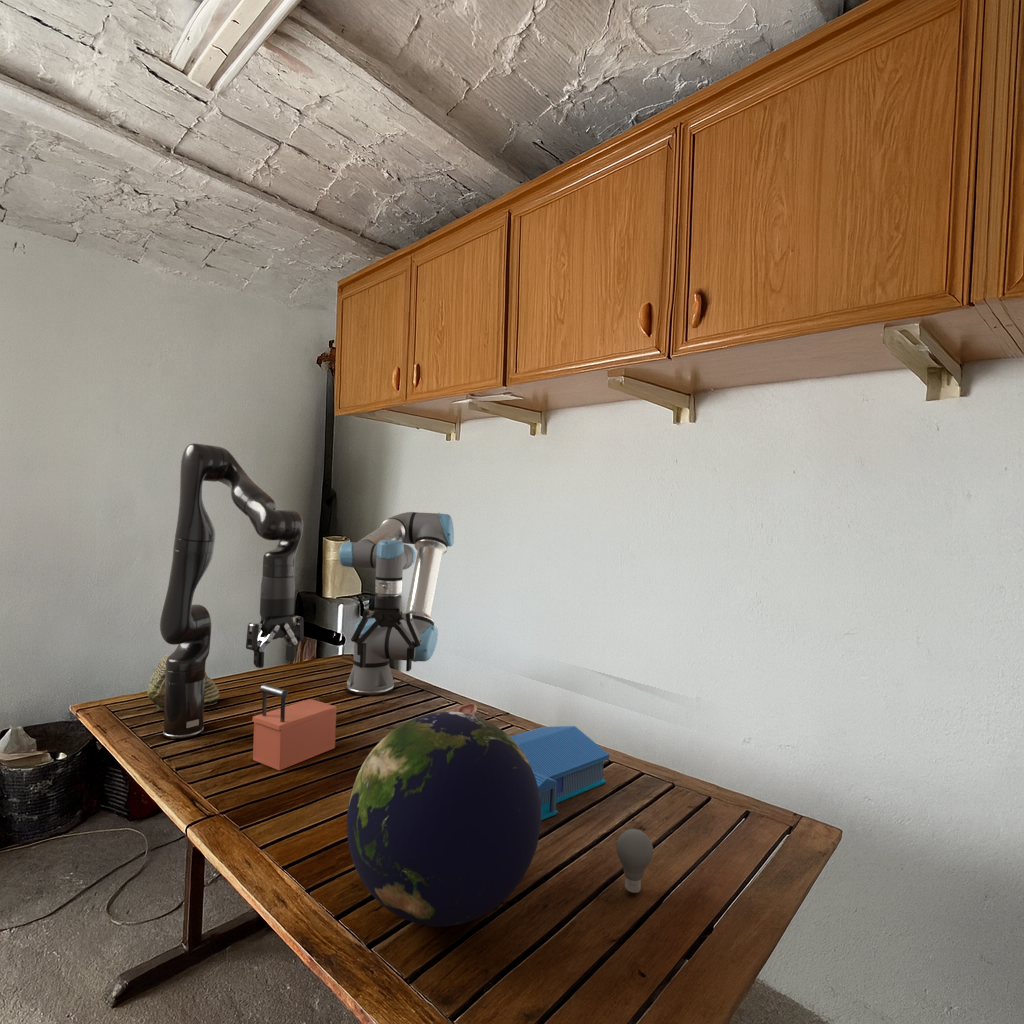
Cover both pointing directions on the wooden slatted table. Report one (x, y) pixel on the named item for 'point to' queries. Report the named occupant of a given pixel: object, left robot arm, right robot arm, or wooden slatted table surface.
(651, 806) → the wooden slatted table surface
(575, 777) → the model building
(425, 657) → the right robot arm
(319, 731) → the chest
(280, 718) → the lid
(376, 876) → the globe
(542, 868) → the wooden slatted table surface
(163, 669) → the fossil
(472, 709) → the anatomical model
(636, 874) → the light bulb
